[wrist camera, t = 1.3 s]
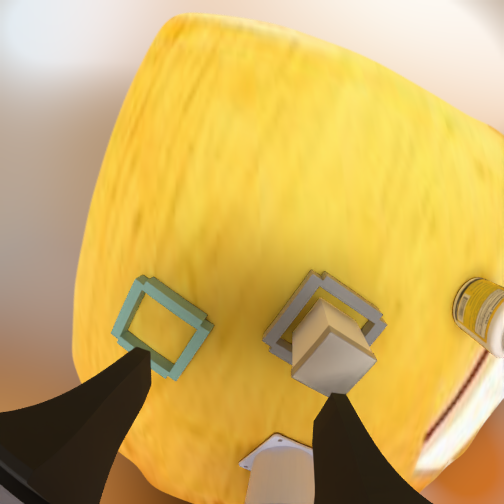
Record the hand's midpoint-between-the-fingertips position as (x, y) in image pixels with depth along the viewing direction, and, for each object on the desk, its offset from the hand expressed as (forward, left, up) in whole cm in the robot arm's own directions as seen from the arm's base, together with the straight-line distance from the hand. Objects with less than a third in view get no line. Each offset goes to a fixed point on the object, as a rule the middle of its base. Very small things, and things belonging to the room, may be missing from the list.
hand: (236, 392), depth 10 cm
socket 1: (+6, +9, -14) cm, 18 cm away
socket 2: (-6, 0, -14) cm, 15 cm away
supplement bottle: (-18, -10, -14) cm, 25 cm away
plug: (-6, 0, -14) cm, 15 cm away
